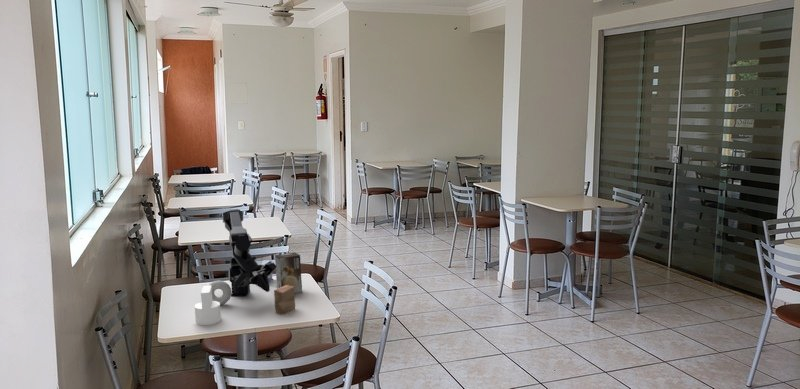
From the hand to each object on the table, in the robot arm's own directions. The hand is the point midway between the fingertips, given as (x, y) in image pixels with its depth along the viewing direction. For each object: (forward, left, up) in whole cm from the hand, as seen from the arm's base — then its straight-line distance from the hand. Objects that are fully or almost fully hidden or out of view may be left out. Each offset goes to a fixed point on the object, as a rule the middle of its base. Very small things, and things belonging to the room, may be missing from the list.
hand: (268, 291), depth 240 cm
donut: (-21, +3, -7) cm, 22 cm away
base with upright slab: (-19, -14, -7) cm, 25 cm away
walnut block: (+7, -3, -7) cm, 10 cm away
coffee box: (+3, +20, -7) cm, 21 cm away
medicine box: (-12, +35, -7) cm, 37 cm away
